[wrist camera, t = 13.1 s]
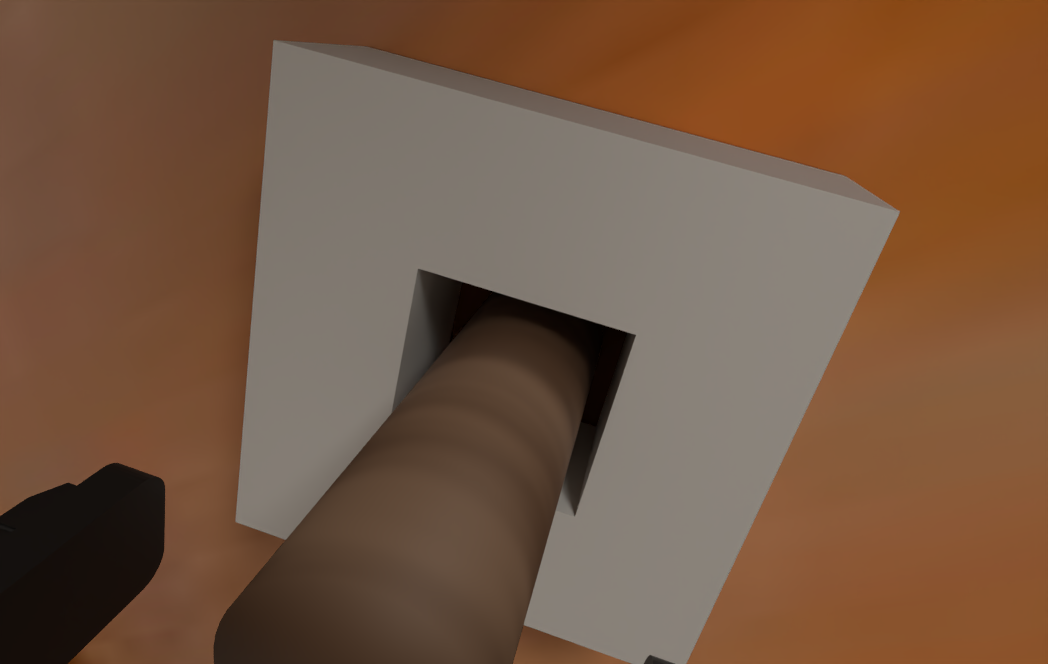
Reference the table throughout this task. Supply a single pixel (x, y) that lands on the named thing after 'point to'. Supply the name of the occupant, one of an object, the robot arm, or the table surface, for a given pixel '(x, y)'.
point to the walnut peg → (433, 510)
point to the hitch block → (556, 283)
